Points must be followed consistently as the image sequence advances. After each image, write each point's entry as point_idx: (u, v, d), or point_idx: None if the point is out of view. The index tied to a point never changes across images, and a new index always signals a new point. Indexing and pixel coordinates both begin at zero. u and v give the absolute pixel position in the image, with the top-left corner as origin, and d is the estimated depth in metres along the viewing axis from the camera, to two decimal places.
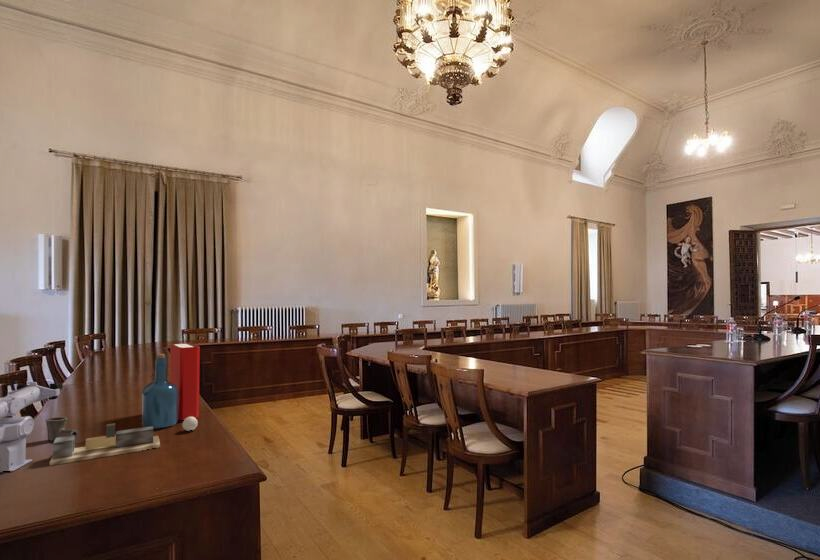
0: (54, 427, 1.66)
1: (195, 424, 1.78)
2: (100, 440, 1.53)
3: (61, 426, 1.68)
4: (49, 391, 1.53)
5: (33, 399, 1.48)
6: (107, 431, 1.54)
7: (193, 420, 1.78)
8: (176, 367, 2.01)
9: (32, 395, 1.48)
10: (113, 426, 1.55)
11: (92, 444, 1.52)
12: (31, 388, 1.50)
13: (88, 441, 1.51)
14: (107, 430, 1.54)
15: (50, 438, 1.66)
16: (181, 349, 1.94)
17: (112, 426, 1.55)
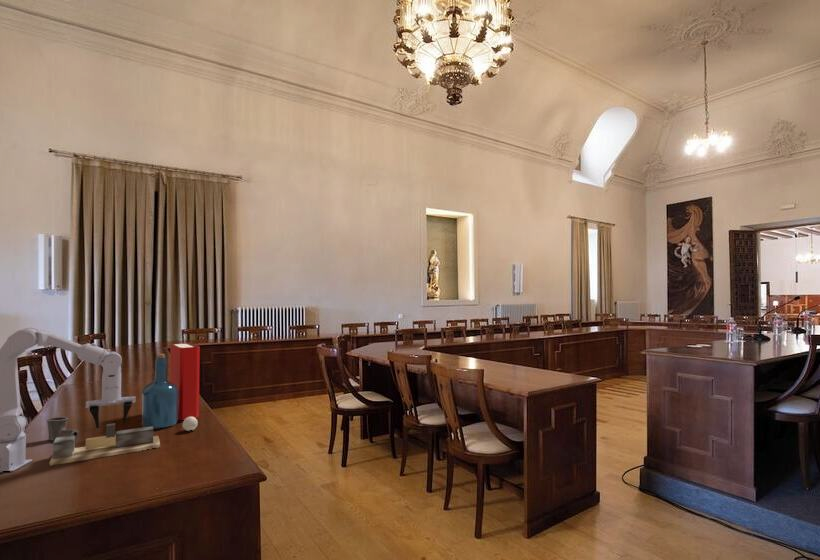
0: (55, 427, 1.66)
1: (195, 424, 1.78)
2: (100, 440, 1.53)
3: (62, 426, 1.68)
4: None
5: None
6: (107, 431, 1.54)
7: (193, 420, 1.78)
8: (176, 367, 2.01)
9: (114, 386, 1.55)
10: (113, 426, 1.55)
11: (92, 444, 1.52)
12: (107, 394, 1.54)
13: (88, 441, 1.51)
14: (107, 430, 1.54)
15: (51, 438, 1.66)
16: (181, 349, 1.94)
17: (112, 426, 1.55)
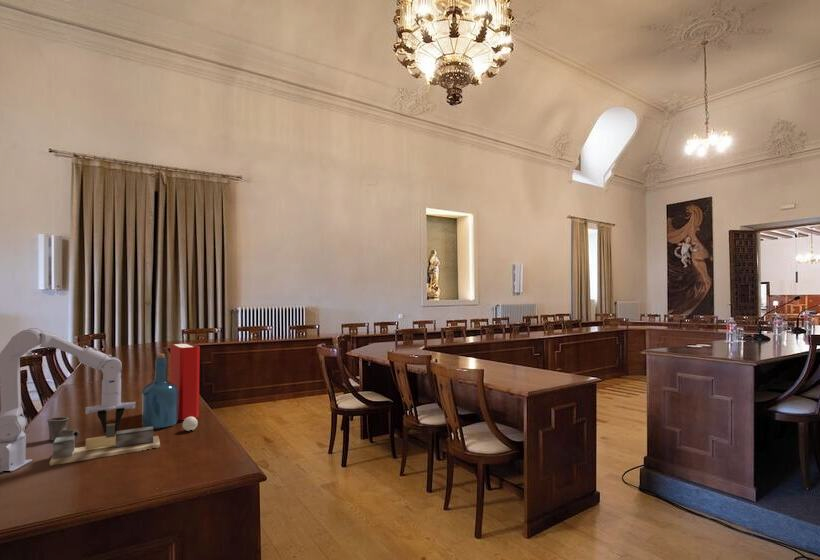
0: (56, 427, 1.66)
1: (195, 424, 1.78)
2: (100, 440, 1.53)
3: (63, 426, 1.68)
4: (93, 408, 1.53)
5: None
6: (107, 431, 1.54)
7: (193, 420, 1.78)
8: (176, 367, 2.01)
9: (114, 392, 1.55)
10: (113, 426, 1.55)
11: (92, 444, 1.52)
12: (107, 399, 1.54)
13: (88, 441, 1.51)
14: (107, 430, 1.54)
15: (52, 438, 1.66)
16: (181, 349, 1.94)
17: (112, 426, 1.55)
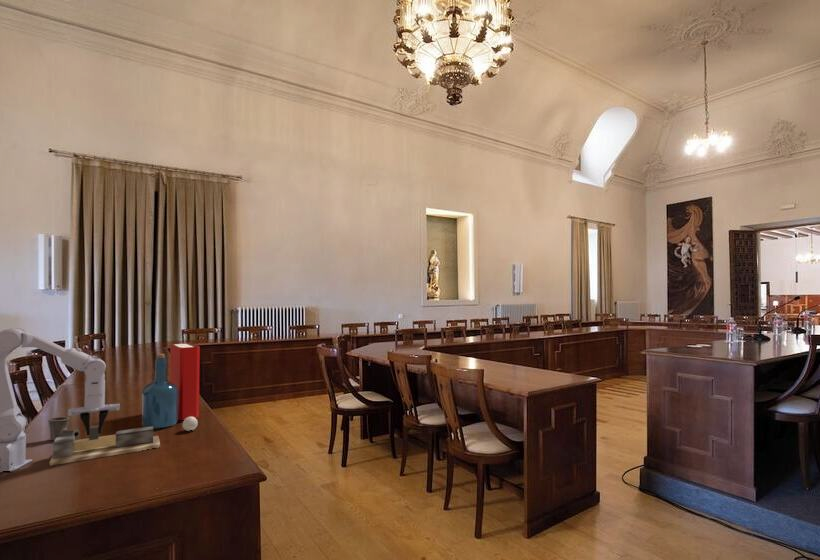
0: (56, 427, 1.67)
1: (195, 424, 1.78)
2: (83, 442, 1.51)
3: (63, 426, 1.68)
4: (76, 410, 1.51)
5: None
6: (90, 433, 1.52)
7: (193, 420, 1.78)
8: (176, 367, 2.01)
9: (97, 394, 1.52)
10: (96, 428, 1.53)
11: (75, 447, 1.49)
12: (90, 401, 1.51)
13: None
14: (90, 432, 1.52)
15: (52, 438, 1.67)
16: (181, 349, 1.94)
17: (95, 428, 1.53)
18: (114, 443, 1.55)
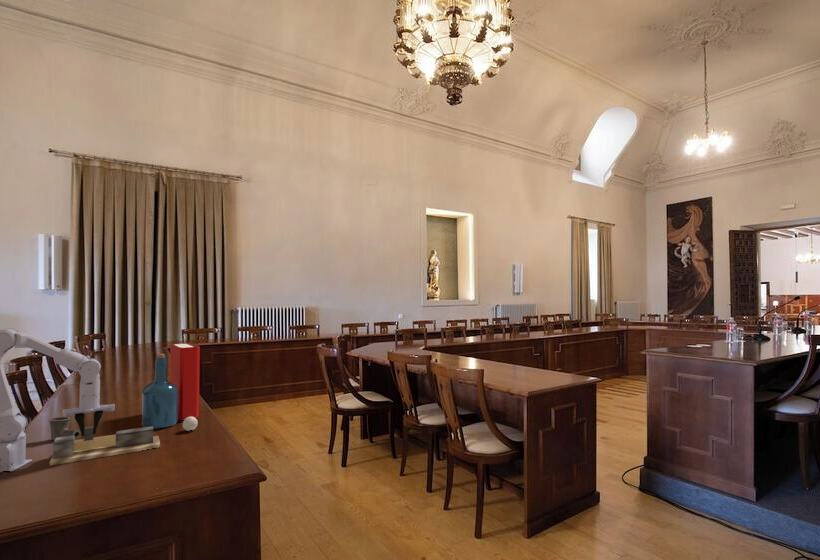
0: (57, 427, 1.67)
1: (195, 424, 1.78)
2: (78, 443, 1.50)
3: (64, 426, 1.68)
4: None
5: None
6: (85, 434, 1.51)
7: (193, 420, 1.78)
8: (176, 367, 2.01)
9: (92, 394, 1.51)
10: (91, 429, 1.52)
11: None
12: (85, 402, 1.50)
13: None
14: (85, 433, 1.51)
15: (53, 438, 1.67)
16: (181, 349, 1.94)
17: (90, 429, 1.52)
18: (109, 444, 1.54)
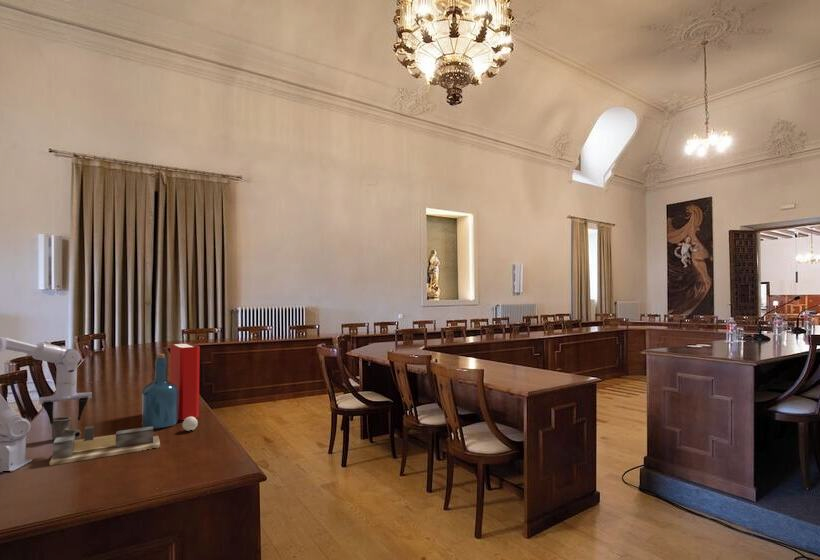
0: (58, 427, 1.67)
1: (195, 424, 1.78)
2: (78, 443, 1.50)
3: (65, 426, 1.68)
4: (48, 398, 1.53)
5: None
6: (85, 434, 1.51)
7: (193, 420, 1.78)
8: (176, 367, 2.01)
9: (73, 381, 1.56)
10: (91, 429, 1.52)
11: None
12: (61, 389, 1.54)
13: None
14: (85, 433, 1.51)
15: (54, 438, 1.67)
16: (181, 349, 1.94)
17: (90, 429, 1.52)
18: (110, 444, 1.54)
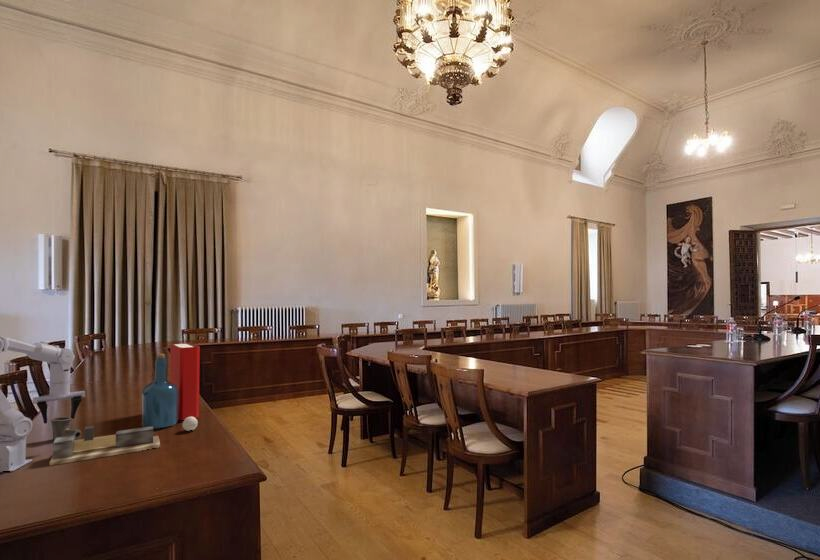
0: (58, 427, 1.67)
1: (195, 424, 1.78)
2: (78, 443, 1.50)
3: (65, 426, 1.68)
4: (42, 398, 1.53)
5: None
6: (85, 434, 1.51)
7: (193, 420, 1.78)
8: (176, 367, 2.01)
9: (68, 380, 1.58)
10: (91, 429, 1.52)
11: None
12: (57, 389, 1.55)
13: None
14: (85, 433, 1.51)
15: (55, 438, 1.67)
16: (181, 349, 1.94)
17: (90, 429, 1.52)
18: (110, 444, 1.54)
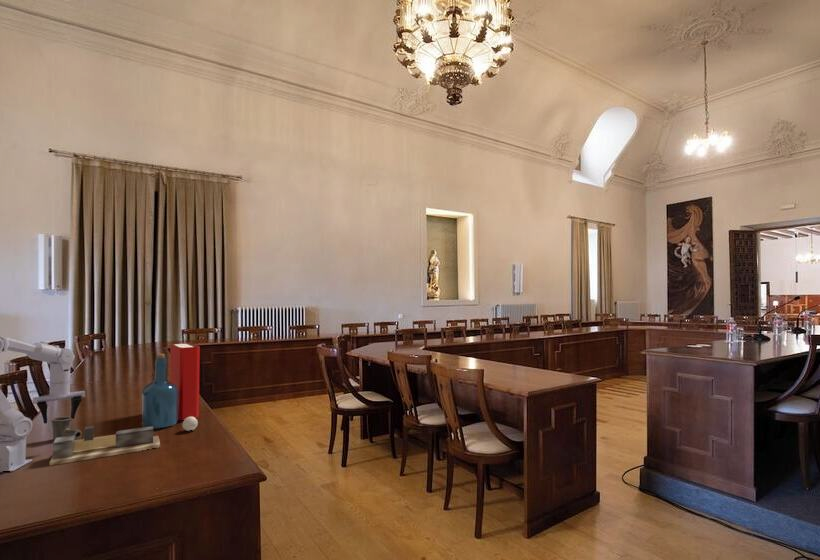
0: (59, 427, 1.67)
1: (195, 424, 1.78)
2: (78, 443, 1.50)
3: (66, 426, 1.68)
4: (42, 398, 1.53)
5: None
6: (85, 434, 1.51)
7: (193, 420, 1.78)
8: (176, 367, 2.01)
9: (68, 380, 1.58)
10: (91, 429, 1.52)
11: None
12: (57, 389, 1.55)
13: None
14: (85, 433, 1.51)
15: (55, 438, 1.67)
16: (181, 349, 1.94)
17: (90, 429, 1.52)
18: (110, 444, 1.54)
